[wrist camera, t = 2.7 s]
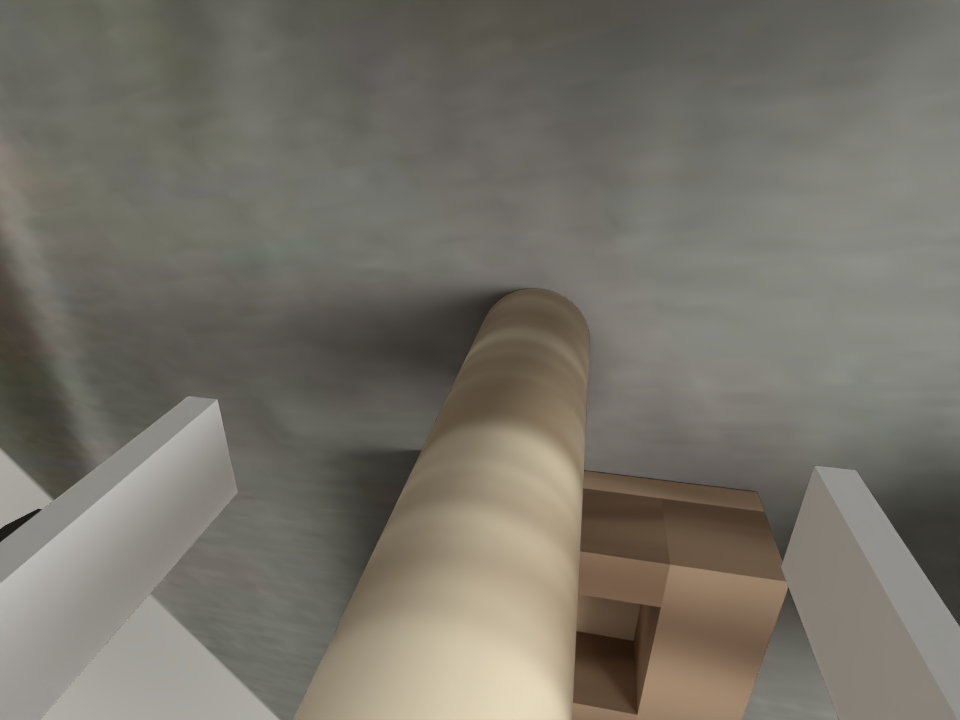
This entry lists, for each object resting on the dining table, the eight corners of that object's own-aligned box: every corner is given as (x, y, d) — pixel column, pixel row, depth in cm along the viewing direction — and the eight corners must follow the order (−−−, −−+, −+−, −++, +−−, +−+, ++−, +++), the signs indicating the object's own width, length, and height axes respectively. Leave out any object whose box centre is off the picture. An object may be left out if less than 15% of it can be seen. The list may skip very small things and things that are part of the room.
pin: (481, 284, 18) (99, 959, 4) (595, 292, 18) (567, 1099, 4) (480, 382, 20) (197, 1104, 6) (584, 393, 20) (538, 1219, 5)
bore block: (422, 450, 22) (387, 523, 18) (757, 492, 20) (790, 582, 16) (434, 734, 30) (411, 822, 26) (673, 784, 28) (683, 886, 25)
